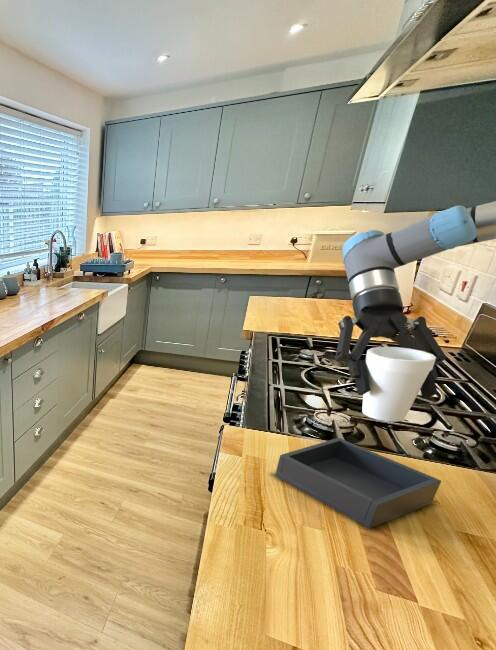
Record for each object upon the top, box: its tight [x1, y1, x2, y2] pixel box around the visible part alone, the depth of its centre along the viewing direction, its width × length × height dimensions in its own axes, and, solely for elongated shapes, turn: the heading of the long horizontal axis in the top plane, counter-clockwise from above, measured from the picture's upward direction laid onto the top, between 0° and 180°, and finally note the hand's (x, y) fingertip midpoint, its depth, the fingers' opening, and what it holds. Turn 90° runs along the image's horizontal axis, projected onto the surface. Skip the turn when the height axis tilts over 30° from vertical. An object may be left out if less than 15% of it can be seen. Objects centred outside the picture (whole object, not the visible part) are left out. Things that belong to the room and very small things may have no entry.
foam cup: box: [361, 346, 436, 423], centre depth 82 cm, size 10×9×13 cm
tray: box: [274, 437, 442, 529], centre depth 80 cm, size 17×17×5 cm
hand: (396, 394), depth 80 cm, fingers closed on foam cup, 10 cm apart
